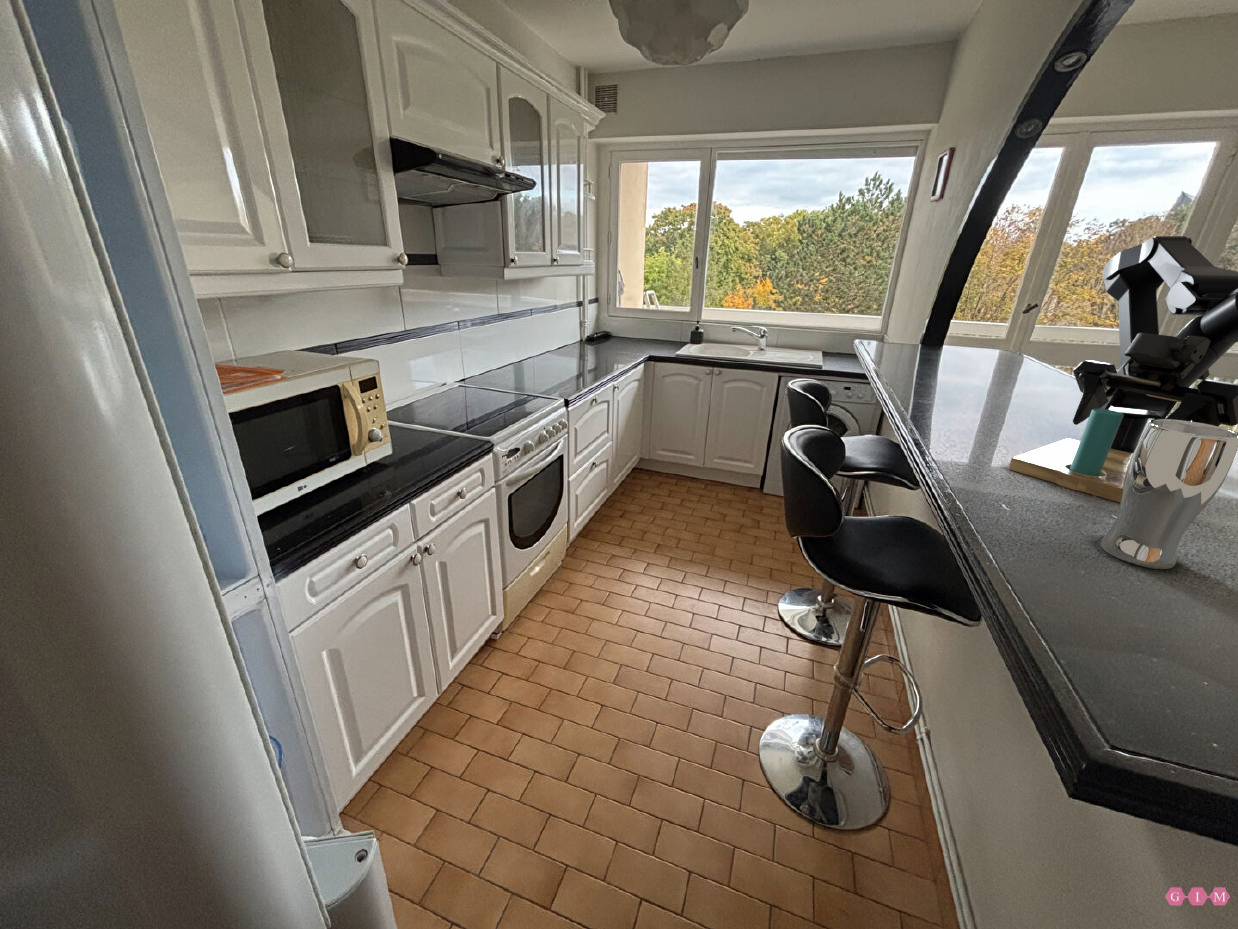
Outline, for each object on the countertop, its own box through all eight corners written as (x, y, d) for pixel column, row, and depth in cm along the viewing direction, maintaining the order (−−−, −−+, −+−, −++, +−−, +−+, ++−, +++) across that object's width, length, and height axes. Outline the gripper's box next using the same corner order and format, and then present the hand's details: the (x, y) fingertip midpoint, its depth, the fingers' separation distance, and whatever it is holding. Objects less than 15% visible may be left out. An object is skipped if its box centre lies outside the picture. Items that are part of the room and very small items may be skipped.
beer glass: (1198, 576, 53) (1269, 441, 48) (1121, 567, 54) (1181, 435, 49) (1148, 542, 59) (1205, 420, 54) (1081, 535, 61) (1129, 416, 55)
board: (1063, 448, 90) (1067, 438, 89) (1171, 476, 79) (1177, 464, 78) (1006, 469, 80) (1010, 457, 80) (1120, 504, 69) (1126, 490, 68)
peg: (1071, 476, 78) (1097, 407, 74) (1099, 484, 75) (1128, 413, 71) (1061, 480, 77) (1087, 410, 72) (1089, 488, 74) (1118, 416, 70)
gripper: (1103, 306, 77) (1028, 381, 78) (1280, 320, 61) (1181, 414, 62) (1119, 356, 82) (1047, 426, 84) (1286, 381, 66) (1194, 467, 67)
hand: (1108, 432), depth 74 cm, fingers open, 9 cm apart
